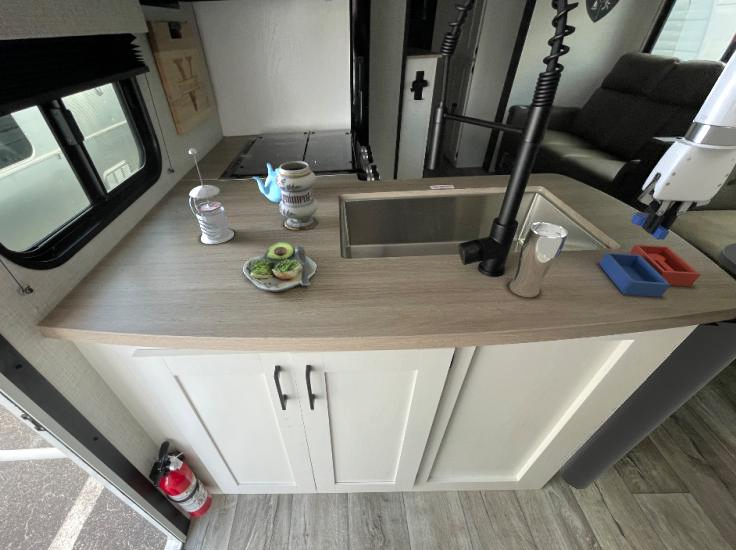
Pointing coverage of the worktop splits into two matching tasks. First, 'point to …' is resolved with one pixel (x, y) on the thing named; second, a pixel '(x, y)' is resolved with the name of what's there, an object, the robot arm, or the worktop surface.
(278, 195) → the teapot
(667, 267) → the red spoon
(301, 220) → the apothecary jar
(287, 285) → the salad plate
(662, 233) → the blue spoon
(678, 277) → the red bin
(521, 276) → the beer glass
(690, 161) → the robot arm
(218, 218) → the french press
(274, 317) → the worktop surface
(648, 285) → the blue bin
